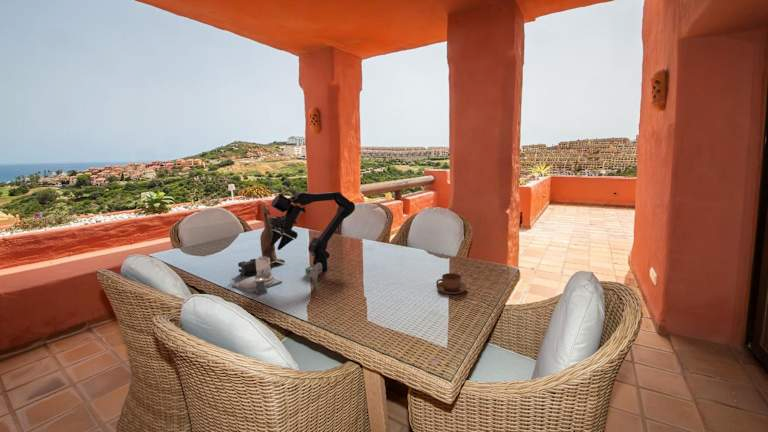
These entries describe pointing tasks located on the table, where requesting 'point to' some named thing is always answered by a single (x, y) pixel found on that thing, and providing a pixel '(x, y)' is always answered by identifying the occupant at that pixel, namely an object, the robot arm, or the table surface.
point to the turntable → (253, 284)
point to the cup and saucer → (451, 284)
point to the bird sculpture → (268, 239)
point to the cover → (264, 268)
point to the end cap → (247, 267)
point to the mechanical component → (314, 273)
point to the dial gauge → (260, 286)
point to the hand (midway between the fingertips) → (274, 247)
